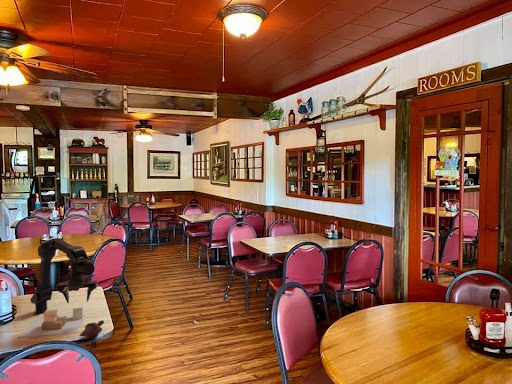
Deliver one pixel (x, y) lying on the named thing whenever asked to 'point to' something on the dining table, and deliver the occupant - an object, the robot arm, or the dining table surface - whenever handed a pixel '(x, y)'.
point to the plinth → (55, 324)
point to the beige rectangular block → (77, 312)
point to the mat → (36, 330)
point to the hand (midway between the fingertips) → (77, 302)
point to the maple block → (50, 315)
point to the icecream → (92, 329)
